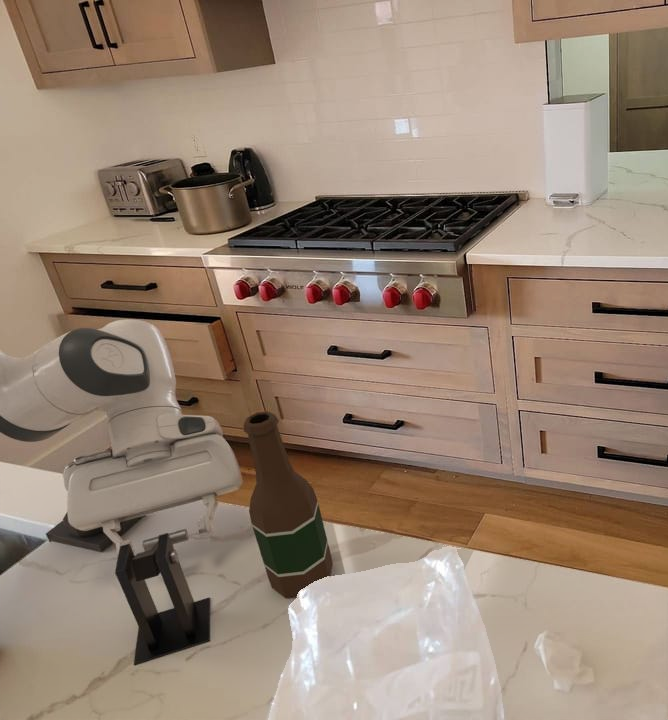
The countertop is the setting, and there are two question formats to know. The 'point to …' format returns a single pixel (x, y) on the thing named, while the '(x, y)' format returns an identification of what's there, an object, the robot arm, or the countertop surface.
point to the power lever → (153, 556)
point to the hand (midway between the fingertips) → (167, 545)
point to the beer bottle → (284, 513)
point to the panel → (86, 535)
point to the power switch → (170, 626)
